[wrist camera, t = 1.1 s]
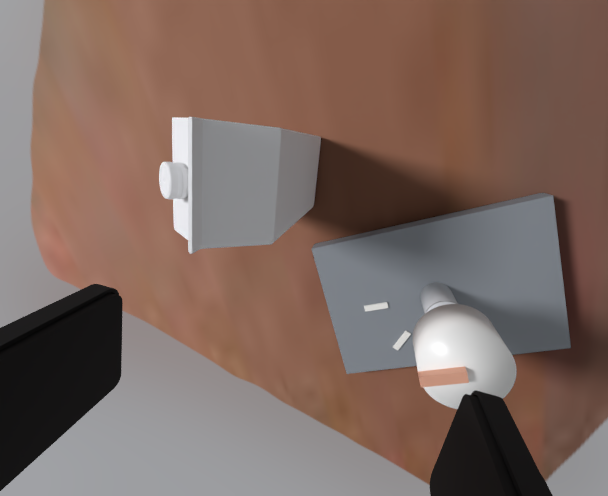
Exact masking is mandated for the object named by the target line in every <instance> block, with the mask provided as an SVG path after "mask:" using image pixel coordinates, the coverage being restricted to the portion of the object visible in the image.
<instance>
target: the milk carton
mask: <svg viewBox="0 0 608 496" xmlns="http://www.w3.org/2000/svg"><path fill="white" fill-rule="evenodd" d="M320 144H321V137H319V136H315V135H310V134H306V133H301V132H296V131H291V130H287V129H282V128H276V127H268V126H260V125H251V124H243V123H235V122H226V121H218V120H210V119H201V118H196V117H189V118H172V149H173V162H163V163H162V164H161V166H160V171H159V183H160V189H161V192H162V195H163V196H164V197H165V198H166V199H173V211H174V229H175V230H176V231H177V232H178V233H180V234H181V235H182V236H183V237H185V238H186V239H187V240H188V251H189V253H191V254H192V253H194V252H196V251H198V250H199V249H205V248H221V247H237V246H253V245H269V244H273V242H275V241H276V240H277V239H278V238H279V237H280V236H281V235H282V234H283V233H285V232H286V231H287V230H288V229H289V228H290V227H291V226H292V225H294V224H295V223H296V222H297V221H298V220H299V219H300V218H301V217H303V216H304V215H305V214H306V213H307V212H308V211H309V210H310V209H312V208H313V206H314V200H315V191H316V182H317V173H318V163H319V154H320Z"/></svg>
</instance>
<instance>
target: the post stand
mask: <svg viewBox="0 0 608 496" xmlns="http://www.w3.org/2000/svg"><path fill="white" fill-rule="evenodd" d="M312 252H313V256H314V259H315V263H316V267H317V270H318V274H319V277H320V281H321V284H322V288H323V291H324V295H325V298H326V302H327V305H328V309H329V313H330V316H331V320H332V323H333V327H334V330H335V334H336V337H337V341H338V344H339V348H340V352H341V355H342V359H343V362H344V366H345V369H346V373H347V374H349V373H358V372H367V371H375V370H384V369H393V368H401V367H410V366H417V363H416V358H415V352H414V347H413V331H414V328H415V326H416V324H417V322H418V321H419V319H420V318H421V317H422V316H423V315H424V314H425V313H427V312H428V311H430V310H431V309H433V308H436V307H438V306H442V305H447V304H461V305H466V306H470V307H472V308H475V309H477V310H478V311H480V312H481V313H483V314H484V315H485V316H486V317H487V318H488V319H489V320H490V322H491V323H492V325H493V326H494V328H495V329H496V331H497V332H498V334H499V335H500V337H501V338H502V340H503V342H504V343H505V345H506V346H507V348H508V349H509V351H510V352H511V354H512V355H514V354H523V353H531V352H540V351H549V350H558V349H566V348H571V344H570V335H569V327H568V318H567V310H566V301H565V293H564V284H563V276H562V267H561V258H560V250H559V241H558V233H557V224H556V216H555V207H554V199H553V195H549V194H546V193H539V194H535V195H530V196H526V197H521V198H517V199H512V200H508V201H503V202H499V203H494V204H490V205H486V206H481V207H477V208H472V209H468V210H463V211H459V212H454V213H450V214H445V215H441V216H437V217H432V218H428V219H423V220H419V221H414V222H410V223H405V224H401V225H396V226H392V227H388V228H383V229H379V230H374V231H370V232H365V233H361V234H356V235H352V236H347V237H343V238H339V239H334V240H330V241H325V242H321V243H316V244H314V246H313V247H312Z"/></svg>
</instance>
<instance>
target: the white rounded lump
mask: <svg viewBox="0 0 608 496" xmlns="http://www.w3.org/2000/svg"><path fill="white" fill-rule="evenodd" d="M413 347H414V352H415V358H416V363H417V369H418V376H419V381H420V385H421V387H423V388H424V389H425V391H426V392H427V393H428V394H429V395H430V396H431V397H432V398H433V399H435V400H436V401H438V402H440V403H441V404H443V405H446V406H448V407H451V408H455V409H458V407H459V405H460V402H461V400H462V397H463V396H464V395H465V394H468V395H471V393H472V392H473V391H475V390H477V391H480V392H484V393H488V394H491V395H495V396H498V397H501V398H502V399H503V398H504V397H505V396H506V395H507V394H508V393H509V392H510V390H511V389H512V387H513V385H514V382H515V379H516V372H517V371H516V364H515V360H514V358H513V356H512V354H511V352H510V351H509V349H508V348H507V346H506V345H505V343H504V342H503V340H502V338H501V337H500V335H499V334H498V332H497V331H496V329H495V328H494V326H493V325H492V323H491V322H490V320H489V319H488V318H487V317H486V316H485V315H484V314H483V313H481V312H480V311H478V310H477V309H475V308H472V307H470V306H466V305H461V304H447V305H442V306H438V307H436V308H433V309H431V310H430V311H428V312H427V313H425V314H424V315H423V316H422V317H421V318H420V319H419V321H418V322H417V324H416V326H415V328H414V331H413Z"/></svg>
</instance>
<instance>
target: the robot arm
mask: <svg viewBox="0 0 608 496" xmlns="http://www.w3.org/2000/svg"><path fill="white" fill-rule="evenodd" d="M121 345H122V298H121V296H119V293H118V291H117V290H116V289H113V288H110V287H106V286H103V285H99V284H93V285H90V286H88V287H86V288H84V289H82V290H80V291H78V292H75V293H73V294H71V295H69V296H67V297H65V298H63V299H61V300H59V301H56V302H54V303H52V304H50V305H48V306H46V307H44V308H42V309H39V310H38V311H36V312H33V313H31V314H29V315H27V316H25V317H23V318H21V319H18V320H16V321H14V322H12V323H10V324H8V325H6V326H4V327H1V328H0V491H1V490H2V489H3V488H4V487H5V486H6V485H8V484H9V483H10V482H11V481H12V480H13V479H14V478H15V477H16V476H17V475H19V474H20V473H21V472H22V471H23V470H24V469H25V468H26V467H27V466H28V465H30V464H31V463H32V462H33V461H34V460H35V459H36V458H37V457H38V456H40V455H41V454H42V453H43V452H44V451H45V450H46V449H47V448H48V447H50V446H51V445H52V444H53V443H54V442H55V441H56V440H57V439H58V438H59V437H61V436H62V435H63V434H64V433H65V432H66V431H67V430H68V429H69V428H70V427H72V426H73V425H74V424H75V423H76V422H77V421H78V420H79V419H80V418H82V417H83V416H84V415H85V414H86V413H87V412H88V411H89V410H90V409H91V408H93V407H94V406H95V405H96V404H97V403H98V402H99V401H100V400H101V399H103V398H104V397H105V396H106V395H107V394H108V393H109V392H110V391H111V390H113V389H114V388H115V386H116V385H117V384H118V382H119V380H120V377H121V349H122V346H121ZM430 494H431V496H552V494H551V492H550V490H549V488H548V486H547V484H546V482H545V480H544V478H543V477H542V475H541V474H540V472H539V470H538V468H537V466H536V464H535V462H534V460H533V458H532V456H531V454H530V452H529V450H528V448H527V446H526V444H525V442H524V440H523V438H522V436H521V434H520V432H519V430H518V428H517V426H516V424H515V422H514V420H513V418H512V416H511V414H510V412H509V410H508V408H507V406H506V404H505V402H504V401H503V399H502V398H501V397H498V396H495V395H491V394H488V393H484V392H480V391H477V390H475V391H473V392H472V393H471V395H468V394H465V395H464V396H463V397H462V400H461V402H460V405H459V407H458V409H457V412H456V414H455V417H454V419H453V422H452V424H451V427H450V429H449V432H448V434H447V437H446V439H445V442H444V444H443V447H442V449H441V452H440V454H439V457H438V459H437V462H436V464H435V467H434V469H433V471H432V474H431V479H430Z"/></svg>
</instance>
